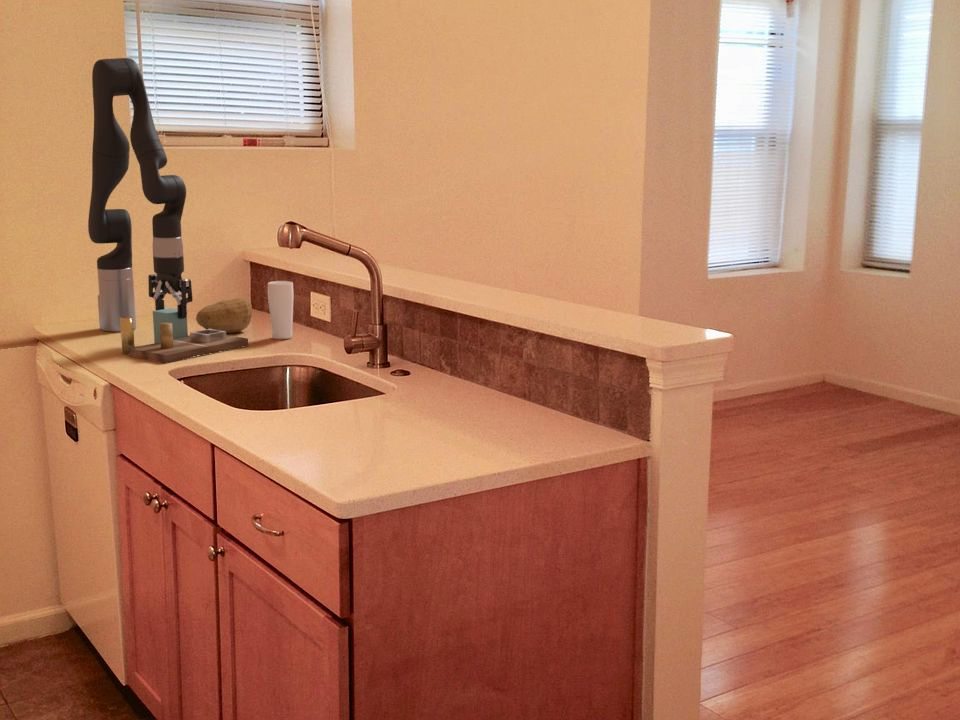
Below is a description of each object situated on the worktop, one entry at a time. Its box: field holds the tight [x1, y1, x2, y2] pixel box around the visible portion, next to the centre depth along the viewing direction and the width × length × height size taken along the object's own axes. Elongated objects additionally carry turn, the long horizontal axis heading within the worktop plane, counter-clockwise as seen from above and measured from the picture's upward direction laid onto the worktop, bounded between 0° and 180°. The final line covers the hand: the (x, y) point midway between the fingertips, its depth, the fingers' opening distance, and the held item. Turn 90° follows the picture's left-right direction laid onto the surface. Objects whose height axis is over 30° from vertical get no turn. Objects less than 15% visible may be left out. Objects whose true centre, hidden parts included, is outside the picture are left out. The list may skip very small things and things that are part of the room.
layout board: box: [129, 323, 249, 364], centre depth 271 cm, size 14×26×8 cm, turn 144°
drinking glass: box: [267, 280, 295, 340], centre depth 287 cm, size 7×7×15 cm
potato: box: [195, 297, 253, 334], centre depth 295 cm, size 9×16×9 cm, turn 117°
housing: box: [152, 307, 189, 343], centre depth 280 cm, size 6×6×9 cm
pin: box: [120, 317, 136, 355], centre depth 268 cm, size 3×3×9 cm
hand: (171, 316), depth 280 cm, fingers open, 8 cm apart
